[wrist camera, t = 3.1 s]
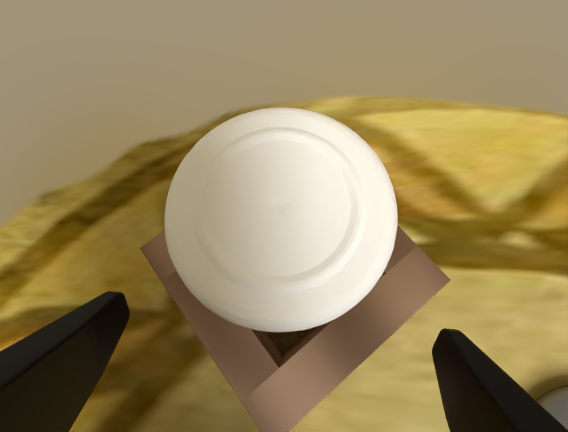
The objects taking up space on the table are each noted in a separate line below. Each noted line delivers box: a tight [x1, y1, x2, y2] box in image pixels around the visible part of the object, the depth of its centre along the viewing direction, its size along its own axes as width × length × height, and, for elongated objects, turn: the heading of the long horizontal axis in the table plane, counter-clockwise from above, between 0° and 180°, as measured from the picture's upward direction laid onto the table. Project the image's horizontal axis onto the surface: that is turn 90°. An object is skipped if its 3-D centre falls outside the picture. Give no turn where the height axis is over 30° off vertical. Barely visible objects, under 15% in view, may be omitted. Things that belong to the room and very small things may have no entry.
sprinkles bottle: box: [164, 108, 397, 332], centre depth 12 cm, size 5×5×14 cm
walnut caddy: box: [140, 225, 450, 432], centre depth 16 cm, size 12×12×4 cm
